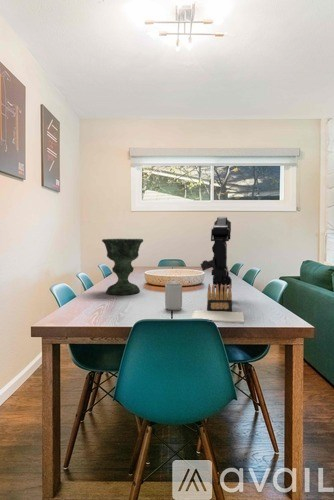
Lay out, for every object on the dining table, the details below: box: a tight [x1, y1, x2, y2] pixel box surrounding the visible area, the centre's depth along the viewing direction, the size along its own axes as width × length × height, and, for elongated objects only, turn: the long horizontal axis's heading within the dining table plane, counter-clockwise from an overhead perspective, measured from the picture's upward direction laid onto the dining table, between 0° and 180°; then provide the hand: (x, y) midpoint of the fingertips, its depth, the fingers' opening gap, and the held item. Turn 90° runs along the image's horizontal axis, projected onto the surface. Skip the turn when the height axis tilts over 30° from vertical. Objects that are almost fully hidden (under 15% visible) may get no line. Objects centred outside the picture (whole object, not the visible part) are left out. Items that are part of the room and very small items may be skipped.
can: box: [164, 280, 183, 311], centre depth 147 cm, size 8×8×12 cm
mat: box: [190, 309, 245, 324], centre depth 133 cm, size 14×20×1 cm
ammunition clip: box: [206, 283, 233, 312], centre depth 142 cm, size 11×2×12 cm, turn 89°
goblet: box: [101, 238, 144, 296], centre depth 185 cm, size 22×23×30 cm
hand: (219, 289), depth 147 cm, fingers closed
